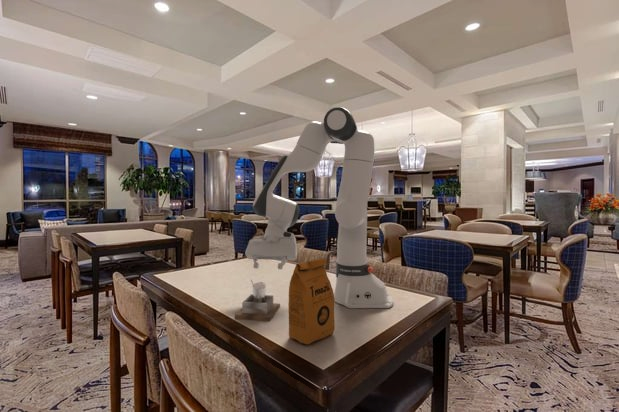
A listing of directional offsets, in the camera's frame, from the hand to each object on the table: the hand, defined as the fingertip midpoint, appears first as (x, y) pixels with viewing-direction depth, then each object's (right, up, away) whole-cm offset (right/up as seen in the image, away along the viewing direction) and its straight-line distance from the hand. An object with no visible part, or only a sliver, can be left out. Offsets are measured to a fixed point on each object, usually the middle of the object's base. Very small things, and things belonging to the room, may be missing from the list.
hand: (267, 268), depth 113 cm
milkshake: (-2, -12, -10) cm, 16 cm away
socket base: (-2, -13, -10) cm, 16 cm away
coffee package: (+16, -14, -27) cm, 35 cm away
